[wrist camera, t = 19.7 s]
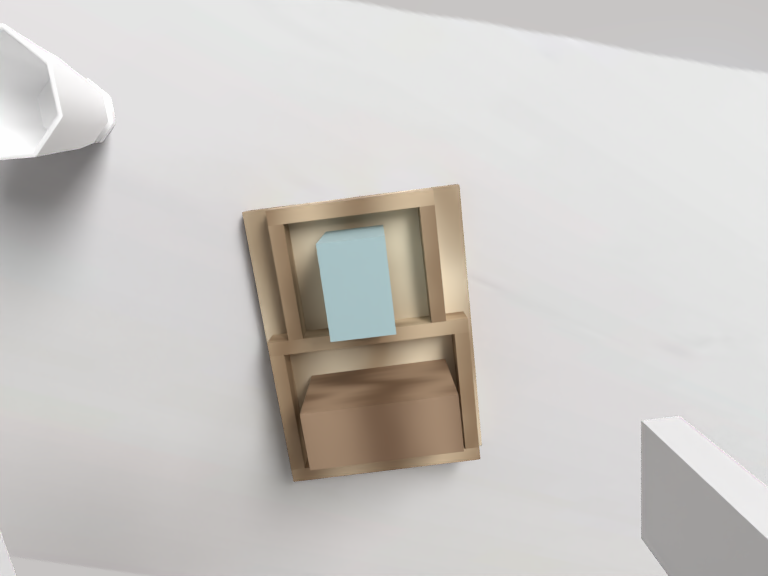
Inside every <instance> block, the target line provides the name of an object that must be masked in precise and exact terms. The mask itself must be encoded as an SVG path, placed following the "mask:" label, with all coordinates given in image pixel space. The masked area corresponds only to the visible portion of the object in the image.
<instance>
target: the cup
mask: <svg viewBox="0 0 768 576" xmlns="http://www.w3.org/2000/svg"><path fill="white" fill-rule="evenodd" d="M115 124H116V119H115V114H114V109H113V104H112V100H111V96H110V95H108V94H107V93H106V92H105V91H103V90H102V89H101V88H100V87H98V86H97V85H96V84H95V83H93V82H92V81H91V80H90V79H87V78H84V77H82V76H81V75H80V74H79V73H77V72H76V71H75V70H74V69H72V68H71V67H70V66H69V65H67V64H66V63H65V62H64V61H62V60H61V59H60V58H58V57H57V56H55V55H53V54H52V53H50V52H48V51H47V50H45V49H43V48H42V47H40V46H38V45H37V44H35V43H34V42H32V41H31V40H29V39H27V38H26V37H24V36H23V35H21V34H20V33H18V32H16V31H15V30H13V29H12V28H10V27H8V26H7V25H5V24H0V160H7V159H18V158H30V157H39V156H44V155H50V154H54V153H59V152H64V151H70V150H76V149H81V148H83V147H85V146H88V145H90V144H92V143H102V142H103V141H104V140H105V138H106V137H107V135H108V134H109V132H110V131H111V130H112V128H113V127H114V125H115Z"/></svg>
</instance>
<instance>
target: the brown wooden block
mask: <svg viewBox="0 0 768 576" xmlns="http://www.w3.org/2000/svg"><path fill="white" fill-rule="evenodd" d="M300 418H301V424H302V429H303V434H304V440H305V445H306V451H307V456H308V461H309V467H310V471H311V470H319V469H327V468H335V467H343V466H351V465H359V464H367V463H375V462H383V461H391V460H399V459H407V458H415V457H423V456H431V455H439V454H447V453H455V452H463V451H464V446H463V436H462V426H461V416H460V406H459V396H458V392H457V390H456V387H455V384H454V382H453V379H452V376H451V374H450V371H449V368H448V365H447V363H446V360H445V359H439V360H431V361H423V362H415V363H407V364H399V365H392V366H384V367H376V368H368V369H360V370H352V371H344V372H336V373H328V374H321V375H313V376H312V377H311V380H310V383H309V386H308V390H307V393H306V396H305V399H304V403H303V406H302V409H301V412H300Z"/></svg>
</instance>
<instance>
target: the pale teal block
mask: <svg viewBox="0 0 768 576" xmlns="http://www.w3.org/2000/svg"><path fill="white" fill-rule="evenodd" d="M316 249H317V255H318V262H319V268H320V275H321V282H322V288H323V295H324V301H325V308H326V315H327V321H328V328H329V334H330V341H331V342H336V341H344V340H353V339H361V338H370V337H378V336H387V335H395V334H396V327H395V318H394V310H393V301H392V293H391V285H390V276H389V268H388V259H387V251H386V242H385V234H384V227H383V225H377V226H369V227H360V228H352V229H344V230H335V231H327V232H325V233H324V235H323V236H322V237H321V238H320V240H319V241H318V242H317V243H316Z"/></svg>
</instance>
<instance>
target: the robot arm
mask: <svg viewBox="0 0 768 576" xmlns="http://www.w3.org/2000/svg"><path fill="white" fill-rule="evenodd" d="M641 538H642V540H643V541H644V543H645V544H646V545H647V547H648V548H649V550H650V551H651V552H652V554H653V555H654V556H655V558H656V559H657V561H658V562H659V563H660V565H661V566H662V568H663V569H664V570H665V572H666V573H667V574H668V576H768V486H767V485H765V484H764V483H763V482H762V481H760V480H759V479H758V478H757V477H755V476H754V475H753V474H752V473H750V472H749V471H748V470H747V469H745V468H744V467H743V466H742V465H740V464H739V463H738V462H737V461H735V460H734V459H733V458H732V457H730V456H729V455H728V454H727V453H726V452H724V451H723V450H722V449H721V448H719V447H718V446H717V445H716V444H714V443H713V442H712V441H711V440H709V439H708V438H707V437H706V436H704V435H703V434H702V433H701V432H699V431H698V430H697V429H696V428H694V427H693V426H692V425H691V424H689V423H688V422H687V421H686V420H685V419H683V418H682V417H681V416H675V417H667V418H658V419H650V420H642V421H641ZM0 576H16V573H15V571H14V567H13V565H12V562H11V559H10V556H9V553H8V550H7V548H6V545H5V542H4V539H3V537H2V534H1V531H0Z"/></svg>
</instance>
